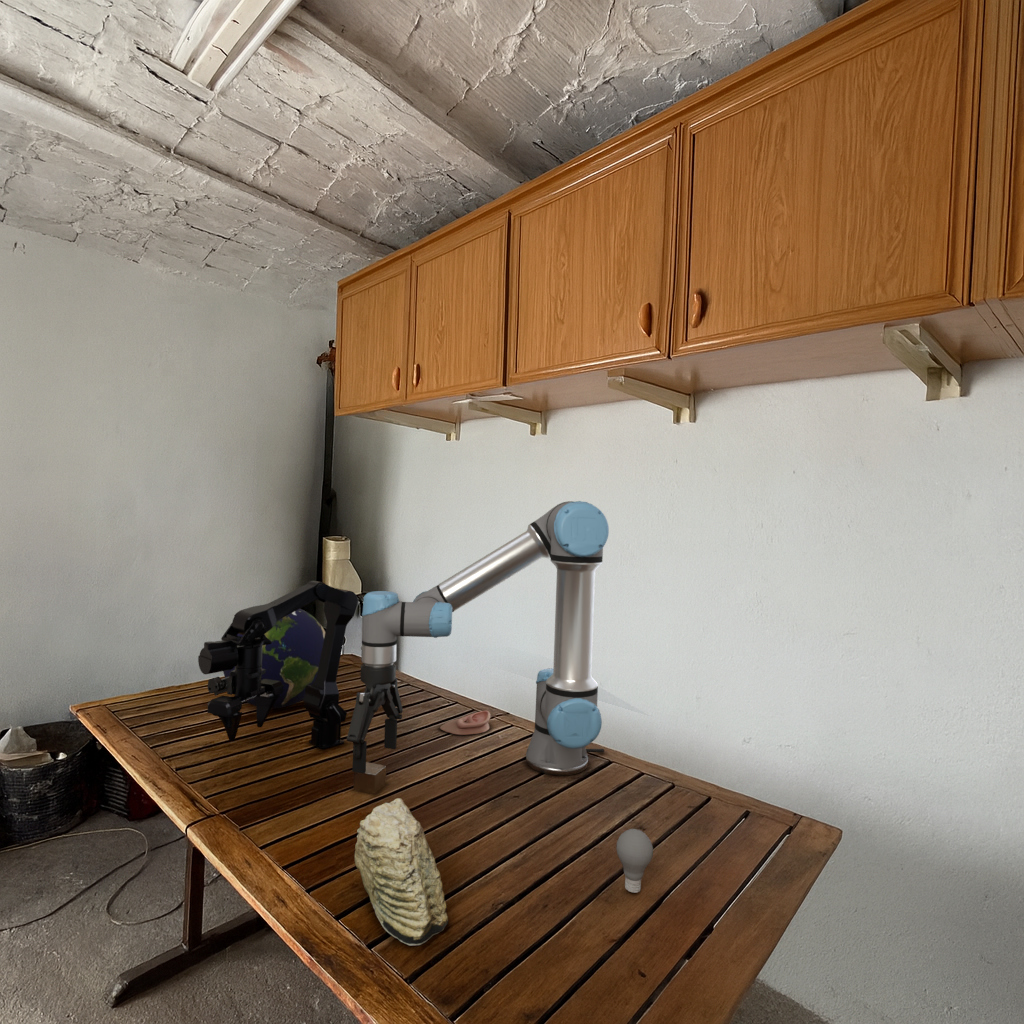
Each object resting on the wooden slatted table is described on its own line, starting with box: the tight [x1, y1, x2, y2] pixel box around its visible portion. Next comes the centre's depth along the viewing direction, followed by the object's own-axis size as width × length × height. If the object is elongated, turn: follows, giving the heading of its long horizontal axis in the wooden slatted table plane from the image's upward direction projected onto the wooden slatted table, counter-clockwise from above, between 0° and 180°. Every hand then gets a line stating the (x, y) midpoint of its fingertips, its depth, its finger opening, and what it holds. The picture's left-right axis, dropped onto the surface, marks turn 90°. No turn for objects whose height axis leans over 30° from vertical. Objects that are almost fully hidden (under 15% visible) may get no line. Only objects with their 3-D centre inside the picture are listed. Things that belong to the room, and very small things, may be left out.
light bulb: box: [615, 828, 654, 894], centre depth 106 cm, size 6×6×10 cm
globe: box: [222, 608, 326, 710], centre depth 188 cm, size 30×30×30 cm
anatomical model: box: [439, 709, 491, 736], centre depth 177 cm, size 13×4×12 cm
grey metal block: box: [353, 761, 387, 795], centre depth 139 cm, size 5×5×4 cm
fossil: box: [354, 797, 449, 947], centre depth 98 cm, size 9×18×15 cm, turn 46°
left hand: (246, 733), depth 145 cm, fingers open, 9 cm apart
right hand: (375, 759), depth 139 cm, fingers open, 13 cm apart
